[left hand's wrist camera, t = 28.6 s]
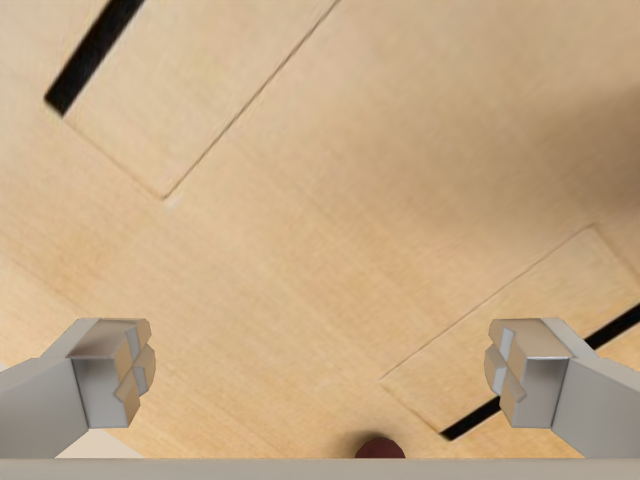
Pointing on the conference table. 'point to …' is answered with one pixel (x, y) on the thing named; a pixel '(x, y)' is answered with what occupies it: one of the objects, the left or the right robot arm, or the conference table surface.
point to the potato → (380, 450)
